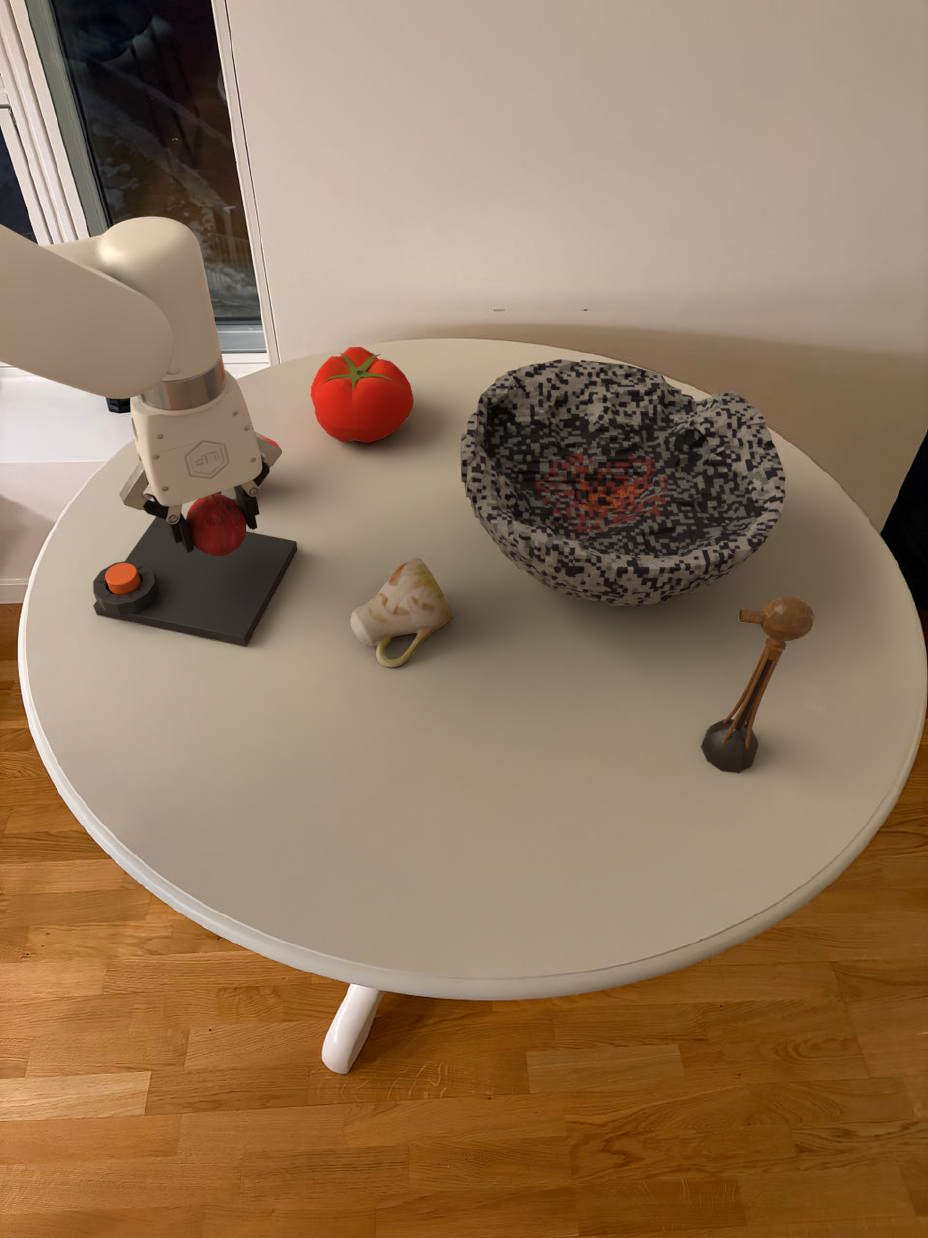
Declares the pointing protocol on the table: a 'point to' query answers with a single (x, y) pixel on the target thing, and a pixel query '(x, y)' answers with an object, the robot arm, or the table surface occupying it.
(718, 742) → the wooden tabletop sculpture
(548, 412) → the bowl
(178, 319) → the robot arm
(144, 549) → the scale
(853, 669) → the table surface
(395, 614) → the mug
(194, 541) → the onion
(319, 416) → the tomato
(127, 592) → the button
